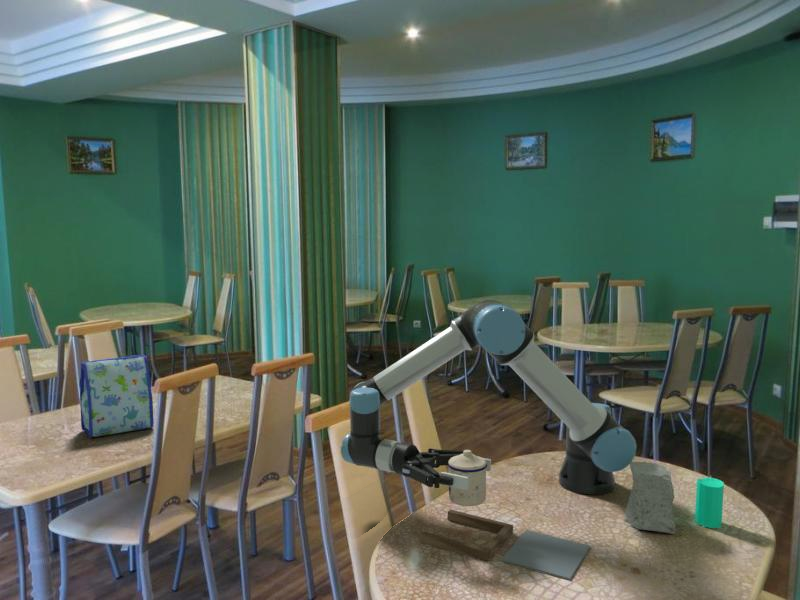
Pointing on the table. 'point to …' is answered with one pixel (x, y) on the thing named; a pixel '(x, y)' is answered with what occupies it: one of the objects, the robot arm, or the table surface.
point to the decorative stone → (651, 498)
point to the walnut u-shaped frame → (467, 548)
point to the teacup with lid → (476, 475)
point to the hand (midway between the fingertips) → (479, 474)
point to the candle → (709, 502)
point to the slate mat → (547, 554)
